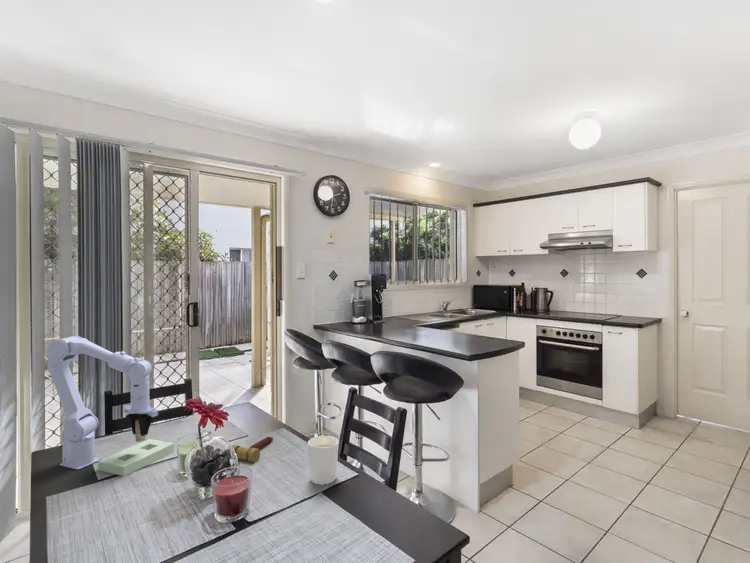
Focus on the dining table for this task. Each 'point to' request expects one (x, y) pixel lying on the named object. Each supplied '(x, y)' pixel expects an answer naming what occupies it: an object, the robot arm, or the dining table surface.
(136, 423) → the maple peg
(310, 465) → the candle holder
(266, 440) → the gavel
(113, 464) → the hole board
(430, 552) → the dining table surface
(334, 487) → the dining table surface
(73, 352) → the robot arm
